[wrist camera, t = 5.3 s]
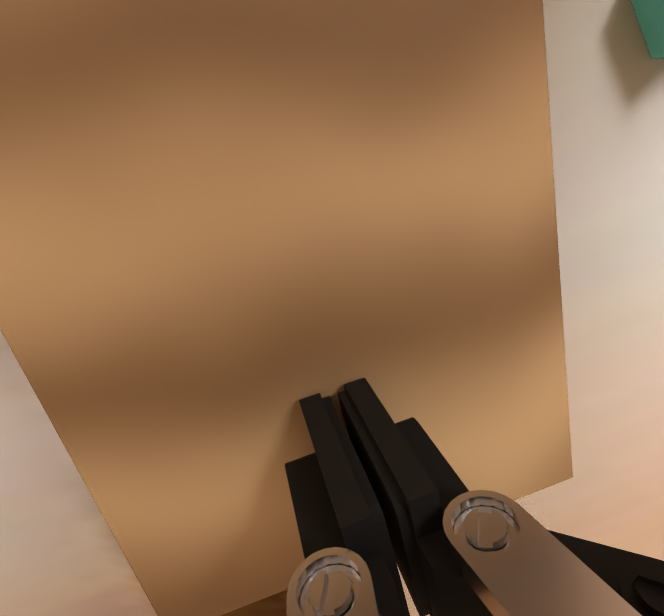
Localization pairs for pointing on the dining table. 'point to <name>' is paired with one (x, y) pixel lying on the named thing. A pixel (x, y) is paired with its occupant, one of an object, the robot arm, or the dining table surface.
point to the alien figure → (651, 24)
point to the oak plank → (276, 255)
